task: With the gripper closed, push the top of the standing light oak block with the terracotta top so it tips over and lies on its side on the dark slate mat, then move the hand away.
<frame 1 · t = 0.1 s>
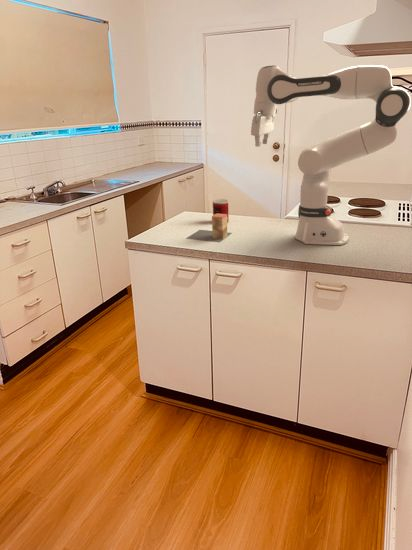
hand: (261, 145, 174), 39 cm above the worktop, tool pointing down, fingers open, 8 cm apart
slate mat: (209, 236, 187), on the worktop
oak block: (220, 236, 184), resting on slate mat
canned food: (221, 222, 208), on the worktop
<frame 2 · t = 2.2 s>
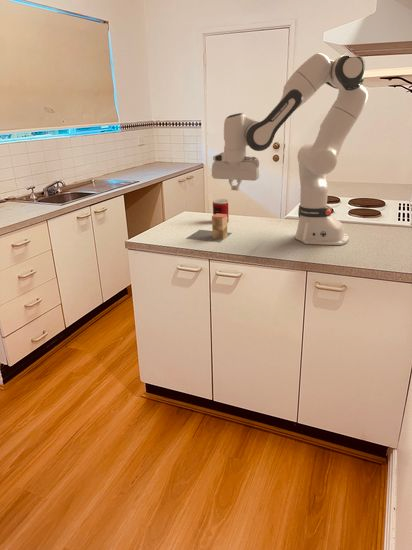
hand: (235, 190, 173), 22 cm above the worktop, tool pointing down, fingers closed
nothing on the worktop moved.
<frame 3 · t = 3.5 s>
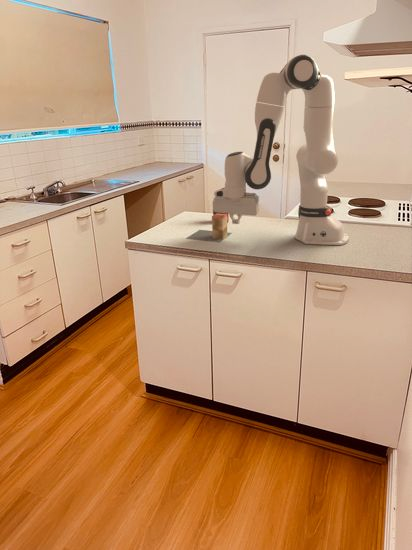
hand: (235, 223, 178), 7 cm above the worktop, tool pointing down, fingers closed
nothing on the worktop moved.
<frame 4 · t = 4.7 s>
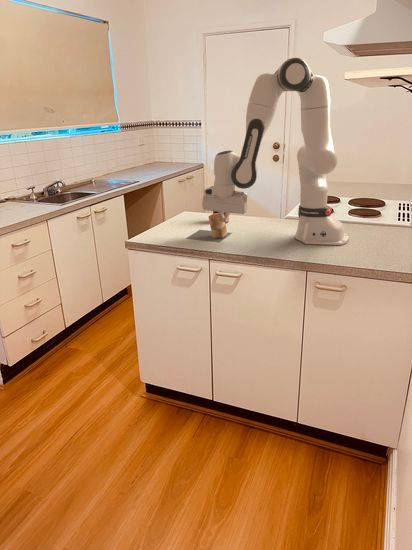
hand: (224, 221, 180), 8 cm above the worktop, tool pointing down, fingers closed
oak block: (220, 236, 184), point 1 cm above the worktop, tilted 9°, touching gripper, slate mat
everything else where it was.
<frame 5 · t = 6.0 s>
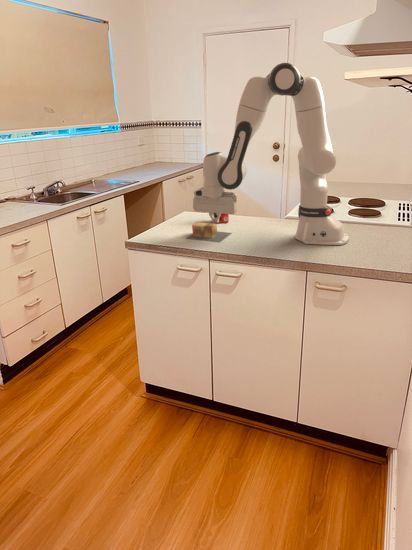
hand: (215, 222, 183), 7 cm above the worktop, tool pointing down, fingers closed
oak block: (214, 231, 185), point 3 cm above the worktop, tilted 90°, touching slate mat
everything else where it was.
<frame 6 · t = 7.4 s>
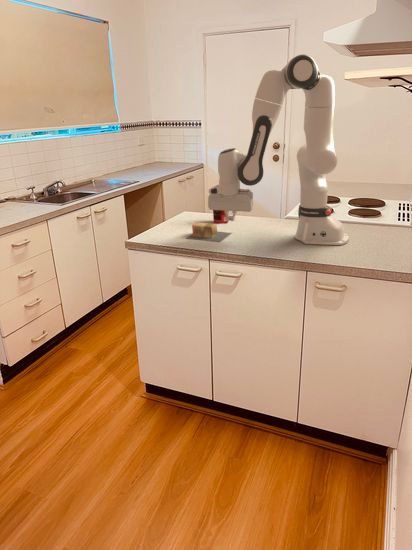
hand: (231, 220, 179), 9 cm above the worktop, tool pointing down, fingers closed
nothing on the worktop moved.
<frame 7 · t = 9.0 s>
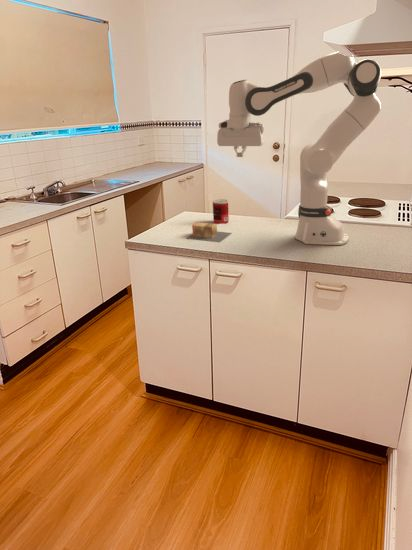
hand: (240, 156, 177), 34 cm above the worktop, tool pointing down, fingers closed
nothing on the worktop moved.
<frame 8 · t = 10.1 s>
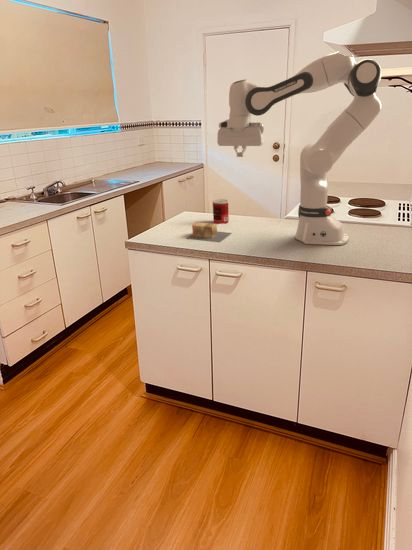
hand: (240, 156, 177), 34 cm above the worktop, tool pointing down, fingers closed
nothing on the worktop moved.
at the end: oak block tilted 90°; oak block inside the target area on the slate mat (1.9 cm from its centre), point 3.0 cm above the slate mat's base; oak block touching slate mat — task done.
